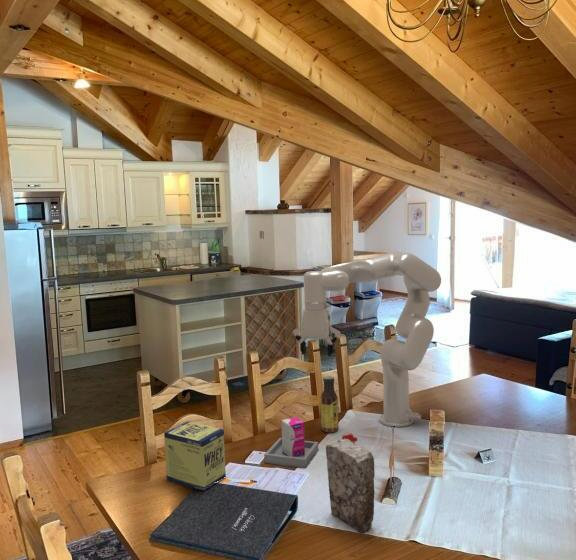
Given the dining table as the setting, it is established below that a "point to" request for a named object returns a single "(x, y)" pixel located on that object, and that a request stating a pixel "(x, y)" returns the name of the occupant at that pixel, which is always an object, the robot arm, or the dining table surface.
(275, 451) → the slate tray
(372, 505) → the stone block
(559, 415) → the dining table surface
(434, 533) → the dining table surface
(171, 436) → the protein box
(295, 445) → the supplement box
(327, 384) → the sauce bottle
